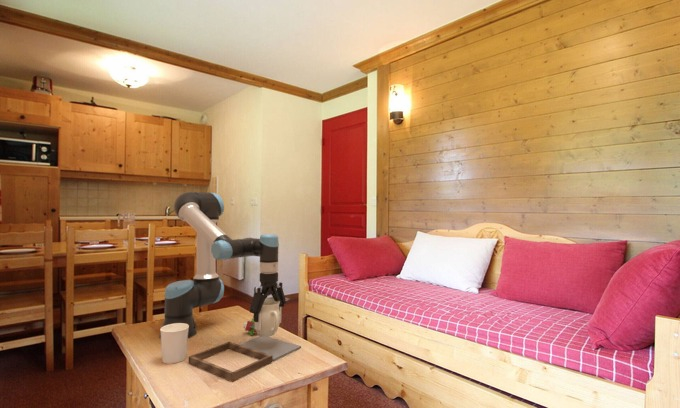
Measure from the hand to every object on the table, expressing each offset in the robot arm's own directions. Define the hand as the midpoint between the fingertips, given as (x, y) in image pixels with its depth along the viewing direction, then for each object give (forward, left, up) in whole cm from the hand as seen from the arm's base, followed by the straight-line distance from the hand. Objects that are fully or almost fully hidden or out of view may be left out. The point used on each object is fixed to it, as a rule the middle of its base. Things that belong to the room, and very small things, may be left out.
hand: (268, 325), depth 146 cm
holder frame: (-1, -18, -9) cm, 20 cm away
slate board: (0, 0, -9) cm, 9 cm away
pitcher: (0, 0, -4) cm, 4 cm away
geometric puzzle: (-18, +8, -9) cm, 22 cm away
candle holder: (-21, -28, -9) cm, 36 cm away
